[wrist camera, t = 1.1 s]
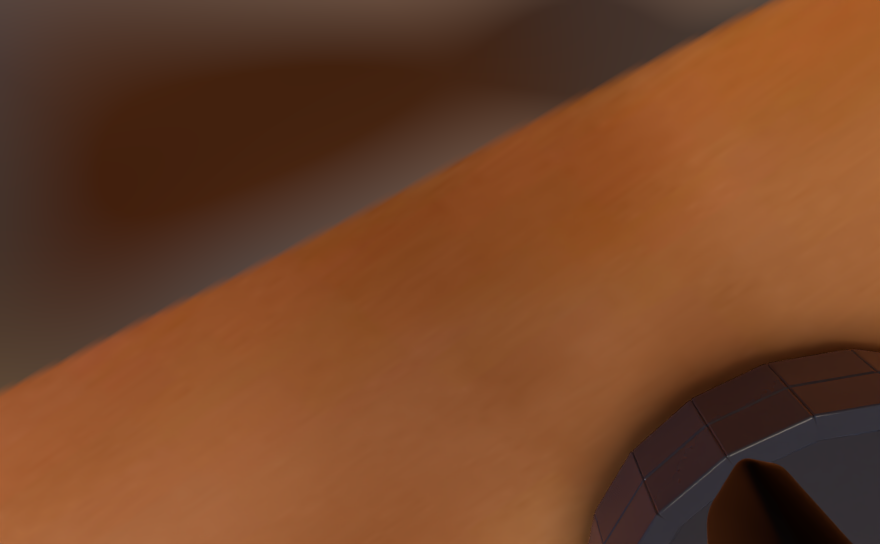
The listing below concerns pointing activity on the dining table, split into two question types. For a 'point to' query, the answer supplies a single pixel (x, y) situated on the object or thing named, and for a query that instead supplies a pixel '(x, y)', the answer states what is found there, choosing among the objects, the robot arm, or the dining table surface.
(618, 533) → the bowl
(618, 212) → the dining table surface
